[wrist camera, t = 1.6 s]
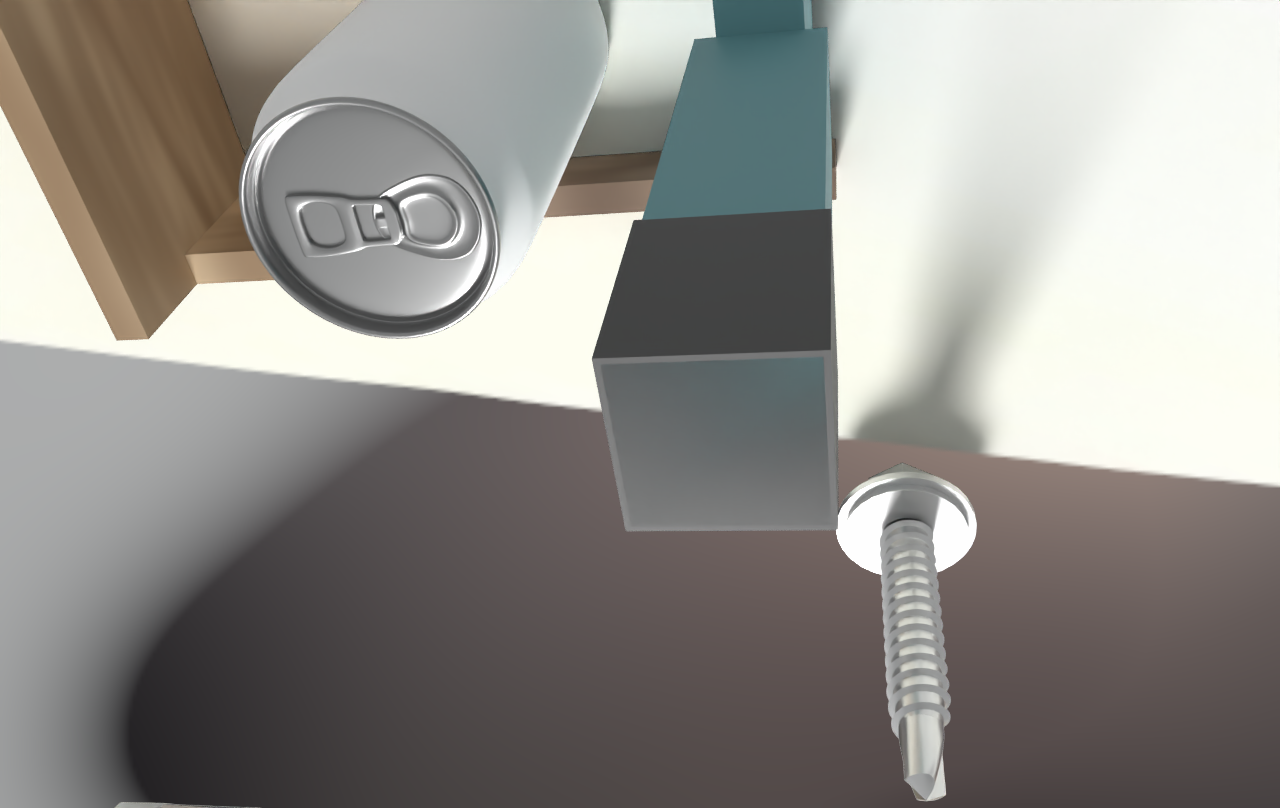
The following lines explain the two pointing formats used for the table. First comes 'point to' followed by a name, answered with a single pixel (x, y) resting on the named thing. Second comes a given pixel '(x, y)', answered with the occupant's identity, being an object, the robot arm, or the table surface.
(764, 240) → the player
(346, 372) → the table surface
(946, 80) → the table surface
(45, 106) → the wooden box
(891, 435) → the table surface
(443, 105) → the can
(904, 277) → the table surface
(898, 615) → the screw
